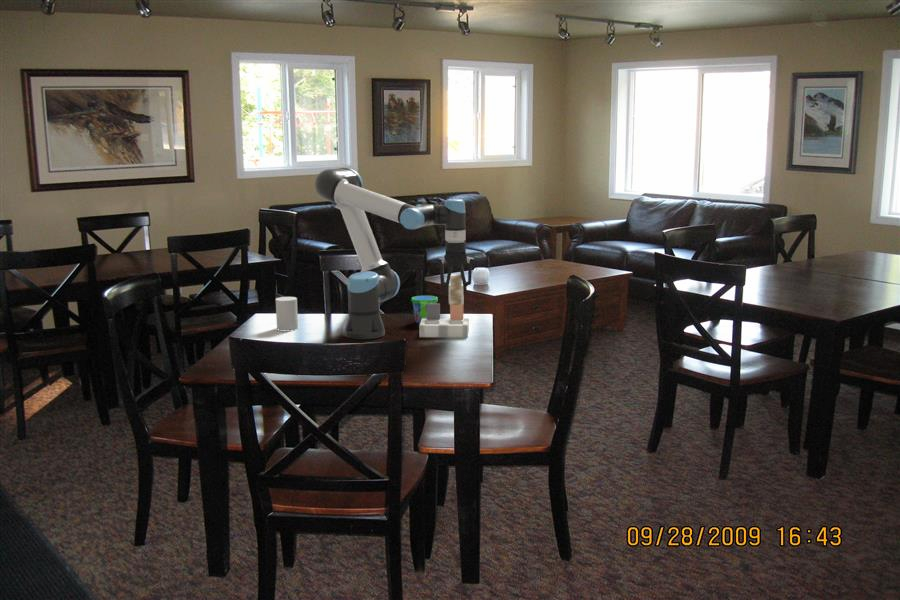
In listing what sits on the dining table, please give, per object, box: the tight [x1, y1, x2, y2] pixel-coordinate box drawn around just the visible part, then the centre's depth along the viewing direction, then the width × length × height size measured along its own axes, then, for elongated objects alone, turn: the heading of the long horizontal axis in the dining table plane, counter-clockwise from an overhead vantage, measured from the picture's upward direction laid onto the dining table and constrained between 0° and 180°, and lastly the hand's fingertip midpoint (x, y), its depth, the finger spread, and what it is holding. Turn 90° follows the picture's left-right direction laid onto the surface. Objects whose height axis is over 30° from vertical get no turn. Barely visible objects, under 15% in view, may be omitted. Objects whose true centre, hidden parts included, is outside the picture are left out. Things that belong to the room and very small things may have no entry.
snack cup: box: [411, 295, 439, 324], centre depth 338 cm, size 16×10×10 cm
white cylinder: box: [275, 296, 299, 331], centre depth 329 cm, size 8×8×12 cm
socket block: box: [418, 303, 470, 338], centre depth 319 cm, size 18×12×10 cm, turn 87°
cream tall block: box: [449, 273, 463, 305], centre depth 315 cm, size 4×4×11 cm
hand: (456, 303), depth 316 cm, fingers closed on cream tall block, 4 cm apart
